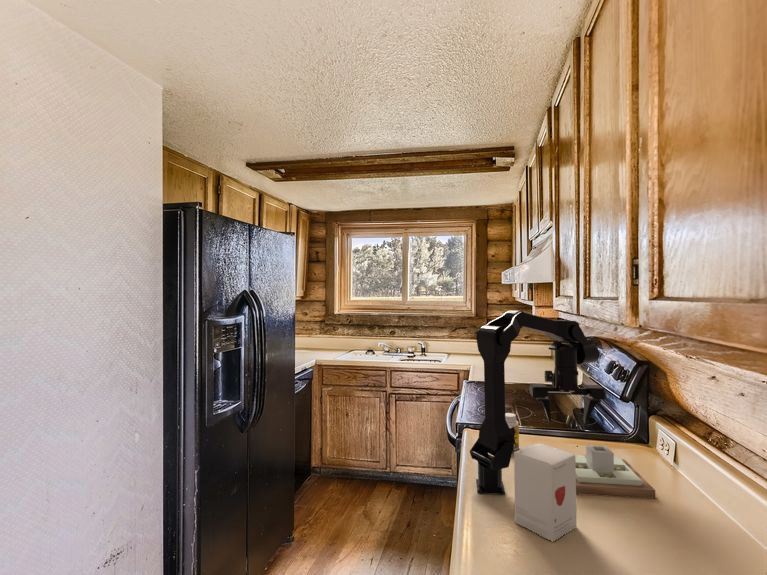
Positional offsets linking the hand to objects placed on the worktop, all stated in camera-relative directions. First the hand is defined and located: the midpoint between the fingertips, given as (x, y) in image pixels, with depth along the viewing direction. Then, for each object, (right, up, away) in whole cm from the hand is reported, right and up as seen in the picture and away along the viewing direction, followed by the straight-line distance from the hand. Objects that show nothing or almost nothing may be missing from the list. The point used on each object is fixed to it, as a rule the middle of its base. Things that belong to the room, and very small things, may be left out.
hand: (567, 422), depth 114 cm
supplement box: (-17, -12, -29) cm, 35 cm away
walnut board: (+5, -12, -8) cm, 15 cm away
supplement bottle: (-12, -13, +14) cm, 22 cm away
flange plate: (+5, -10, -8) cm, 14 cm away
